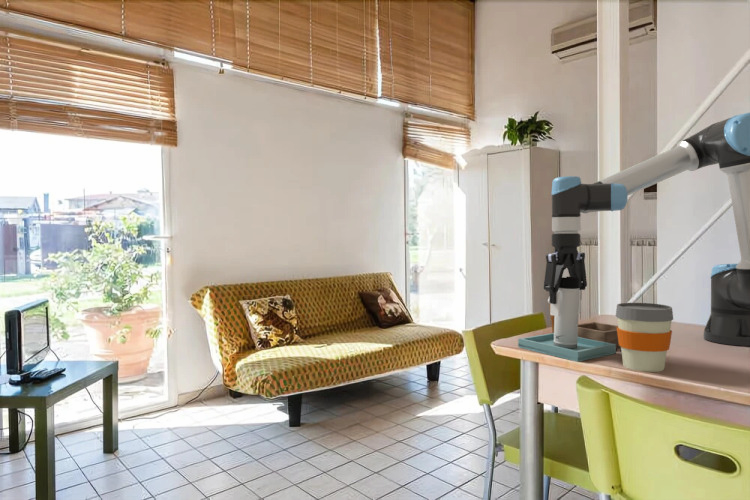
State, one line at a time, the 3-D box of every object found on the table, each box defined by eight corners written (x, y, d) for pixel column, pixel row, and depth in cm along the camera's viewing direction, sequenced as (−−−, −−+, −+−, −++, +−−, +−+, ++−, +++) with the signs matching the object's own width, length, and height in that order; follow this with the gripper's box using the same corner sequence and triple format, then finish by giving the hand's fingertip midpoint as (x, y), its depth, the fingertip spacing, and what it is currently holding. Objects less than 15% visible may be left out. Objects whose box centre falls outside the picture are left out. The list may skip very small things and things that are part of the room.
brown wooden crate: (630, 344, 152) (630, 327, 151) (604, 350, 145) (604, 332, 145) (593, 337, 162) (593, 321, 162) (568, 342, 155) (568, 326, 155)
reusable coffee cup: (677, 375, 119) (678, 311, 119) (617, 371, 124) (617, 308, 123) (667, 362, 131) (668, 303, 131) (613, 358, 135) (613, 301, 135)
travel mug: (555, 348, 143) (558, 276, 141) (551, 342, 149) (554, 273, 148) (579, 350, 142) (582, 277, 140) (574, 343, 148) (577, 274, 147)
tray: (615, 353, 141) (615, 344, 141) (577, 361, 133) (577, 352, 133) (555, 340, 158) (555, 332, 158) (518, 347, 150) (518, 338, 150)
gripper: (578, 232, 153) (578, 309, 154) (529, 233, 142) (529, 315, 143) (601, 232, 147) (600, 312, 148) (551, 233, 136) (551, 319, 137)
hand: (565, 313), depth 145 cm, fingers open, 8 cm apart
